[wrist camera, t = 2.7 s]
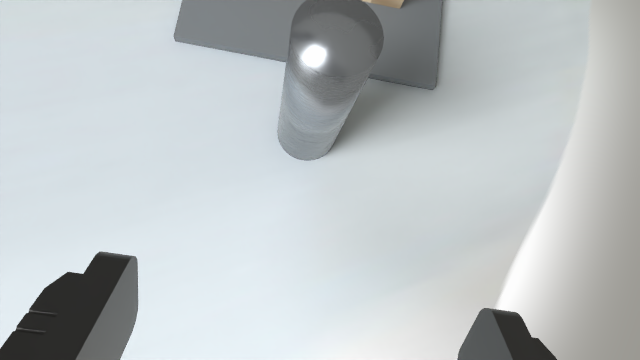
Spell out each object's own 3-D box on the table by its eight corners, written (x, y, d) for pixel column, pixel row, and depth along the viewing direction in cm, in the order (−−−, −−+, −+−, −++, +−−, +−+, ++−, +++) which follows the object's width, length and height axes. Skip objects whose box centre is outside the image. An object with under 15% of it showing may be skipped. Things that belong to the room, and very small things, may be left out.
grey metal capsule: (273, 155, 24) (284, 66, 15) (282, 101, 25) (298, -17, 16) (331, 164, 25) (379, 84, 15) (338, 111, 25) (387, 2, 16)
